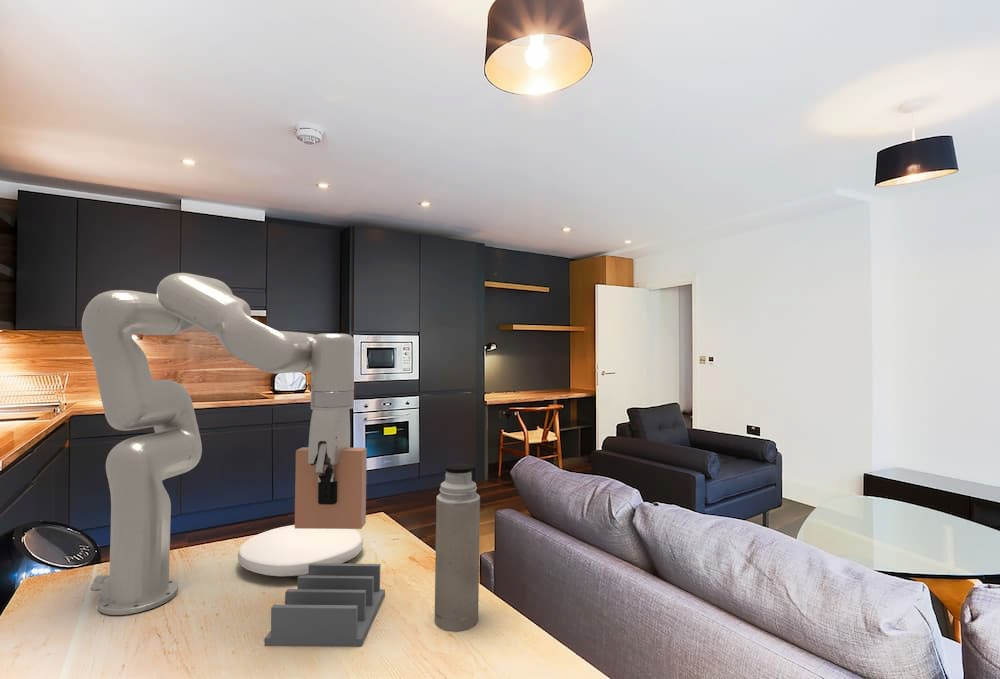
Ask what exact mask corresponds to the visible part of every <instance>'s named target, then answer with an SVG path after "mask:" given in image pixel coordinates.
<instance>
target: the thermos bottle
mask: <svg viewBox="0 0 1000 679" xmlns="http://www.w3.org/2000/svg"><path fill="white" fill-rule="evenodd" d="M445 471H446V472H445V476H444V477H445V478H444V479H445V480H444V481H442V482H441V483H440V487H439V494H438V495H436V500H435V501H436V508H435V509H436V510H435V513H436V521H435V562H434V563H435V567H434V568H435V570H434V574H435V576H434V624H435V625H436V626H437V627H438V628H439V629H442V630H445V631H450V632H462V631H466V630H470V629H471V628H473V627H474V626H476V625H477V623H478V622H479V602H480V601H479V595H480V594H479V593H480V592H479V591H480V589H479V588H480V586H479V584H480V581H479V580H480V522H481V521H480V518H481V515H480V514H481V513H480V512H481V511H480V510H481V508H480V507H481V496H480V495H479V494H478V493H477V489H478V487H477V483H476V482H475V481H473V480H472V476H473V475H472V474H473V473H472V471H473V465H472V464H471V465H470V464H468V463H452V464H451V463H450V464H447V465H446V466H445Z"/></svg>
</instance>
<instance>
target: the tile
mask: <svg viewBox="0 0 1000 679" xmlns="http://www.w3.org/2000/svg"><path fill="white" fill-rule="evenodd" d="M308 447H309V446H307V447H306V446H304V447H303V446H302V447H300V448H298V449H296V450H295V476H294V477H295V481H294V482H295V486H294V487H295V488H294V490H295V491H294V492H295V493H294V525H295V528H298V529H354V530H362V529H363V527H364V526H365V525H366V521H367V520H366V518H367V516H366V515H367V509H366V508H367V459H368V458H367V456H368V455H367V454H368V451H367V447H350V448H345V449H344V450H342V452H341V459H340V462H339V463H337V464H336V474H335V481H337V503H336V504H334V505H330V504H318V474H317V473H316V471H315V470H316V464H315V465H313V466H310V465H309V464H308ZM330 462H331V461H326V464H331V463H330ZM315 463H317V462H315ZM327 469H329V470H330V473H331V468H327Z"/></svg>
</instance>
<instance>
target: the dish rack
mask: <svg viewBox="0 0 1000 679" xmlns="http://www.w3.org/2000/svg"><path fill="white" fill-rule="evenodd" d="M381 567H382V566H381V563H341V564H338V563H310V564H309V570H308V574H305V575H298V576H297V586H296V587H297V588H287V589H286V590H285V592H284V594H285V595H284V604H273V605H272V606H271V607H270V631H269V632H268V633H267V634H266V636H265V637H264V643H263V644H264V645H263V646H270V647H271V646H275V647H276V646H278V647H279V646H280V647H282V646H283V647H284V646H286V647H287V646H288V647H292V646H294V647H296V646H297V647H363V644H364V642H365V640H366V637H367V635H368V633H369V631H370V629H371V626H372V625H373V621H374V620H375V618H376V616H377V614H378V611H379V610H380V607H381V605H382V603H383V600H384V598H385V595H386V589H384V588H383V589H381Z"/></svg>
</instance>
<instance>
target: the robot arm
mask: <svg viewBox="0 0 1000 679" xmlns="http://www.w3.org/2000/svg"><path fill="white" fill-rule="evenodd" d="M251 311H252V310H251V307H250V304H249V303H247V301H245V300H244V299H243V298H240V297H238V296H236V295H234V294H233V291H232V289H231V288H230V287H229V285H227V284H226V283H225V282H224V281H221V280H219V279H218V278H212V277H208V276H205V275H198V274H193V273H188V272H178V273H177V272H176V273H171V274H169V275H167V276H165V277H164V278H163V279H161V281H160V282H159V284H158V285H157V288H156V293H150V292H145V291H144V292H143V291H139V290H138V291H136V290H127V289H115V290H113V289H112V290H108V291H103V292H102V293H98V294H97V295H95V296H94V297H93V298H92V299H91V300H90V301H89V302H88V304H87V305H86V306H85V309H84V311H83V314H82V318H81V332H82V338H83V341H84V343H85V346H86V348H87V350H88V352H89V355H90V357H91V361H92V364H93V366H94V367H93V368H94V371H95V374H96V375H95V376H96V380H97V386H98V390H99V395H100V400H101V404H102V408H103V412H104V416H105V419H106V421H107V423H108V424H109V426H111V428H113V429H115V430H117V431H124V432H125V431H133V430H134V431H135V430H142V429H146V428H153V429H154V430H153V431H154V432H152V433H146V434H142V435H137V436H133V437H130V438H127V439H124V440H122V441H121V442H119V443H117V444H116V445H115V446H113V447H112V449H111V450H110V451H109V453H108V454H107V457H106V460H105V472H106V477H107V482H108V488H109V492H110V543H109V544H110V546H109V547H110V548H109V575H96V577H95V578H94V579H93V583H92V584H91V585H90V589H89V591H91V592H99V591H102V597H100V599H99V600H98V603H97V610H98V611H99V612H100V613H102V614H104V615H108V616H109V615H111V616H123V615H124V616H125V615H131V614H132V615H133V614H137V613H142V612H144V611H149V610H151V609H155V608H157V607H159V606H162V605H163V604H166V603H167V602H169V601H171V600H172V599H173V598H175V596H177V594H178V590H179V584H178V583H177V582H176V581H174V580H173V579H170V553H171V551H170V550H171V548H170V547H171V521H172V520H171V517H172V516H171V515H172V514H171V513H172V510H171V509H172V503H171V498H170V496H169V493H168V492H167V489H166V488H165V486H164V484H163V481H164V480H167V479H169V478H172V477H176V476H179V475H183V474H185V473H187V472H190V471H191V470H193V469H194V468H195V467H196V466H198V464H199V462H200V461H201V458H202V455H203V454H202V453H203V446H202V440H201V435H200V434H201V433H200V430H199V424H198V422H197V417H196V413H195V412H196V411H195V409H194V408H195V407H194V405H193V404H194V403H193V400H192V397H191V395H190V393H189V392H188V390H187V389H186V388H185V387H184V386H183V384H181V383H179V382H178V381H176V380H175V381H174V380H170V379H155V380H154V378H153V376H152V373H151V369H150V366H149V361H148V358H147V355H146V354H145V352H144V350H143V349H142V348H141V347H140V345H139V344H138V343H137V342H136V341H135V340H134V338H133V335H143V336H144V335H148V336H172V335H177V334H178V335H179V334H181V333H184V332H187V331H190V330H193V329H195V328H199V329H201V330H203V331H205V332H206V333H208V334H210V335H211V336H214V337H215V338H217V339H218V340H219V343H220V344H221V345H222V347H223V348H224V349H225V350H226V351H227V353H229V354H231V356H234V357H235V358H236V359H239V360H240V361H242V362H244V363H246V364H248V365H250V366H252V367H254V368H256V369H257V370H260V371H263V372H265V373H269V374H277V375H278V374H289V373H290V374H291V373H293V374H294V373H305V372H310V375H311V376H310V410H312V412H311V418H310V426H309V433H308V434H309V436H308V446H307V447H308V464H309V465H310V466H313V465H315V464H316V470H315V471H316V473H317V474H318V504H330V505H334V504H336V503H337V481H335V474H336V464H337V463H339V462H340V459H341V452H342V450H344V449H345V448H351V416H350V415H351V414H350V410H352V409H354V408H355V406H354V402H355V401H354V400H355V398H354V397H355V394H354V393H355V392H354V391H355V340H354V337H353V336H352V335H351V334H347V333H337V332H336V333H335V332H334V333H329V332H327V333H326V332H325V333H318V334H314V333H307V332H298V331H297V332H296V331H286V330H278V329H275V328H272V327H270V326H268V325H266V324H264V323H262V322H260V321H258V320H257V319H254V318H252V317H251V315H252V312H251ZM326 461H331V462H330V463H331V464H326ZM315 462H317V463H315ZM327 468H331V473H330V470H329V469H327Z"/></svg>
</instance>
